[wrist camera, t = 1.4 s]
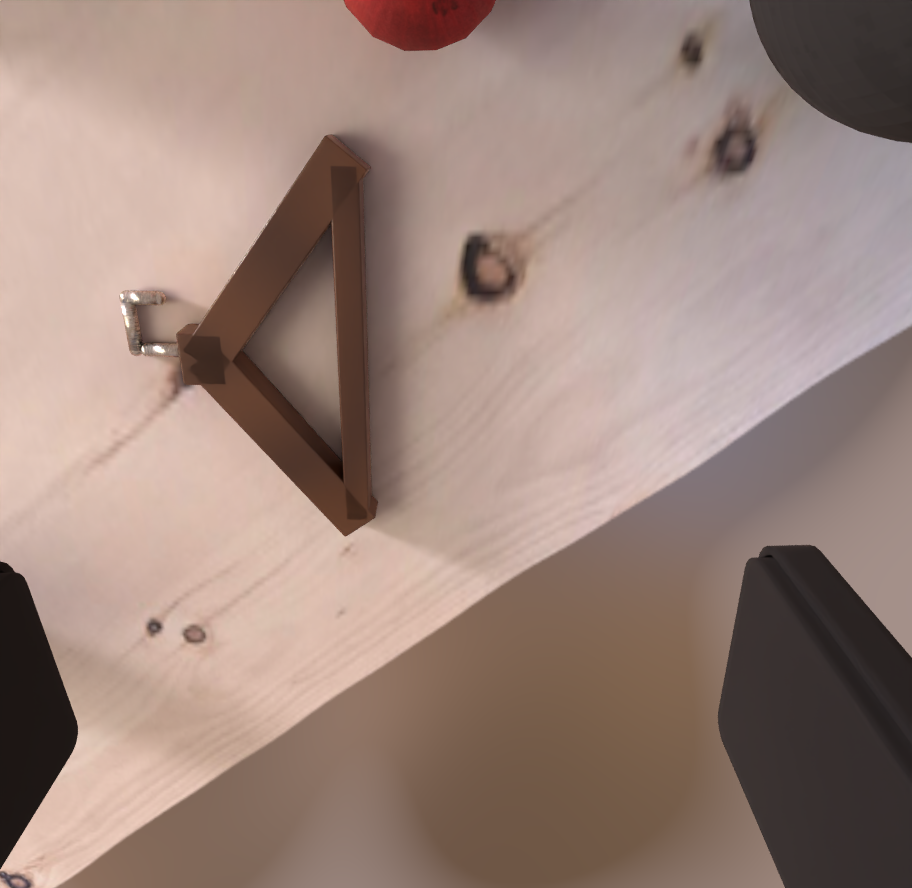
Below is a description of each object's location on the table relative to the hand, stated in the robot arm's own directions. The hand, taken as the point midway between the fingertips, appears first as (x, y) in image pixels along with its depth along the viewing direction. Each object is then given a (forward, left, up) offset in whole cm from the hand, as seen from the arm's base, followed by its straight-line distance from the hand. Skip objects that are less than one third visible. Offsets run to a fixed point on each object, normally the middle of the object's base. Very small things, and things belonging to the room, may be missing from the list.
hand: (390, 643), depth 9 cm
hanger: (-8, -4, -23) cm, 25 cm away
